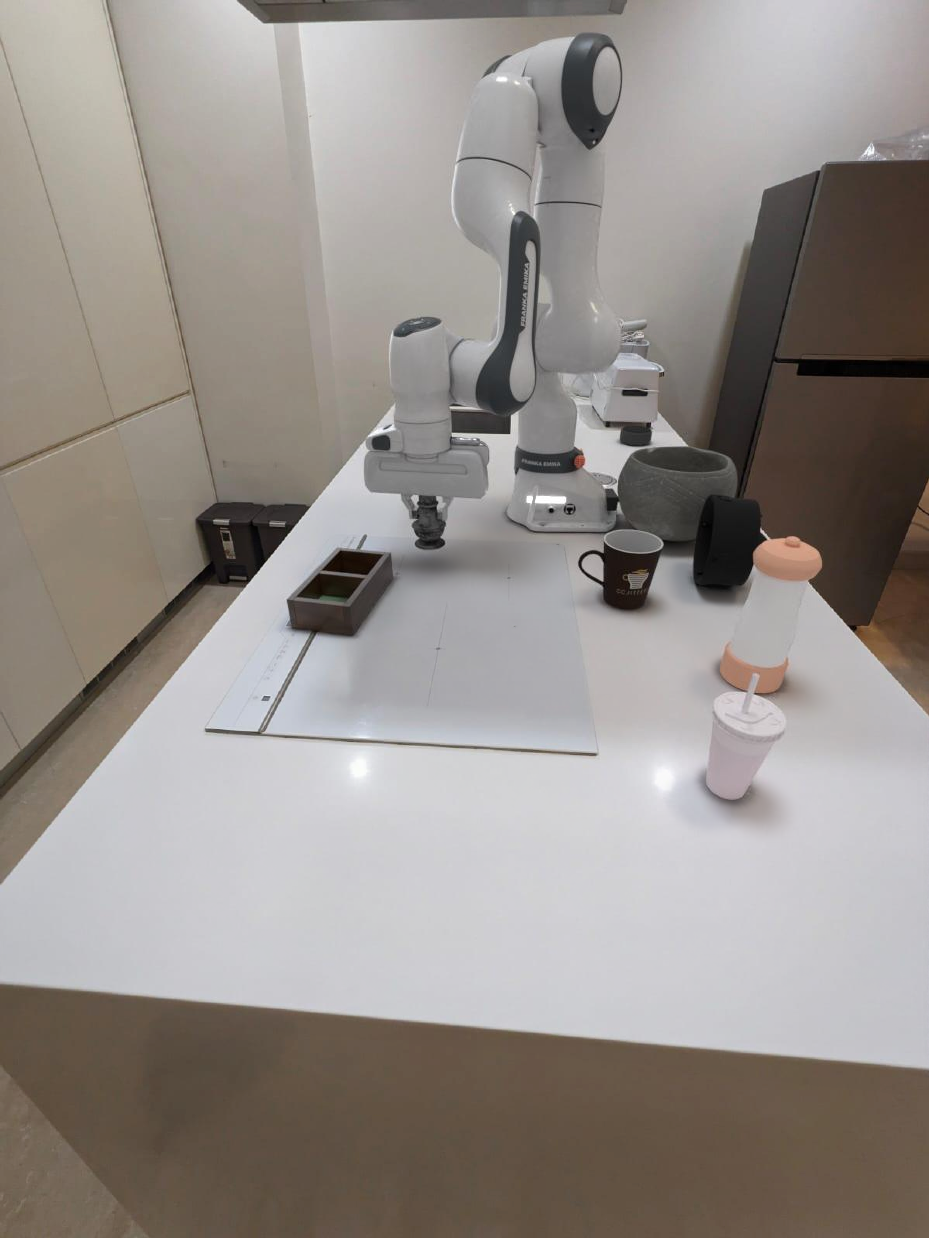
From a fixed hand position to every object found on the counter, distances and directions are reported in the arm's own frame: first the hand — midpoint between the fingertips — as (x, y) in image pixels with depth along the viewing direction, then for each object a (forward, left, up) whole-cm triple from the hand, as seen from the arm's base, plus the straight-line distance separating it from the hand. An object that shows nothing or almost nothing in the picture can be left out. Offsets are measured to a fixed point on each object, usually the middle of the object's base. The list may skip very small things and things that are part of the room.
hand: (428, 518), depth 98 cm
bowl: (-42, -22, -9) cm, 48 cm away
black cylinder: (-50, -3, -9) cm, 50 cm away
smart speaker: (-38, -90, -9) cm, 98 cm away
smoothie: (-43, +43, -9) cm, 61 cm away
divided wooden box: (+9, +16, -8) cm, 20 cm away
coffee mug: (-32, +6, -9) cm, 33 cm away
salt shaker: (0, 0, -5) cm, 5 cm away
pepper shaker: (-49, +23, -9) cm, 54 cm away
